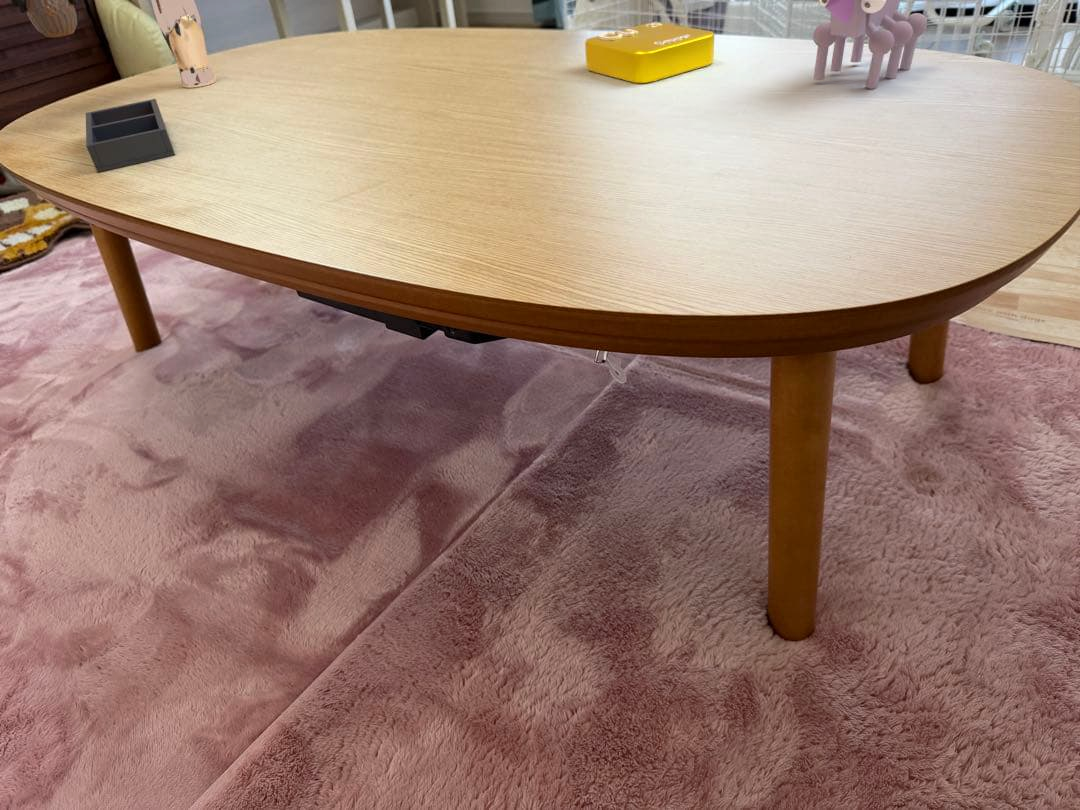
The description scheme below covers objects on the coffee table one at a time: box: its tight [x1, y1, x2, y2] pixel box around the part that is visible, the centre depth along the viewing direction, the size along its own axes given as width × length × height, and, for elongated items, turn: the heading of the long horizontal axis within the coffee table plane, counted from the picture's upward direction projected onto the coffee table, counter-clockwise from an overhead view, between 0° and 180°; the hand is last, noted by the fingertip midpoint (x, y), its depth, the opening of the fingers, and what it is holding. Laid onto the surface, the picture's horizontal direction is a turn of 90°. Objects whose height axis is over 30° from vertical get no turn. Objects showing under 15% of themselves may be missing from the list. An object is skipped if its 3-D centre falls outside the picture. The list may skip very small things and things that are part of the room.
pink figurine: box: [812, 0, 928, 90], centre depth 103 cm, size 20×11×14 cm, turn 135°
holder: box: [85, 98, 176, 173], centre depth 116 cm, size 10×19×4 cm, turn 26°
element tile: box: [584, 21, 715, 84], centre depth 123 cm, size 15×15×5 cm
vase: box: [24, 0, 78, 38], centre depth 129 cm, size 7×7×9 cm
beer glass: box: [150, 0, 218, 89], centre depth 140 cm, size 7×7×15 cm
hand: (49, 6), depth 129 cm, fingers closed on vase, 6 cm apart
